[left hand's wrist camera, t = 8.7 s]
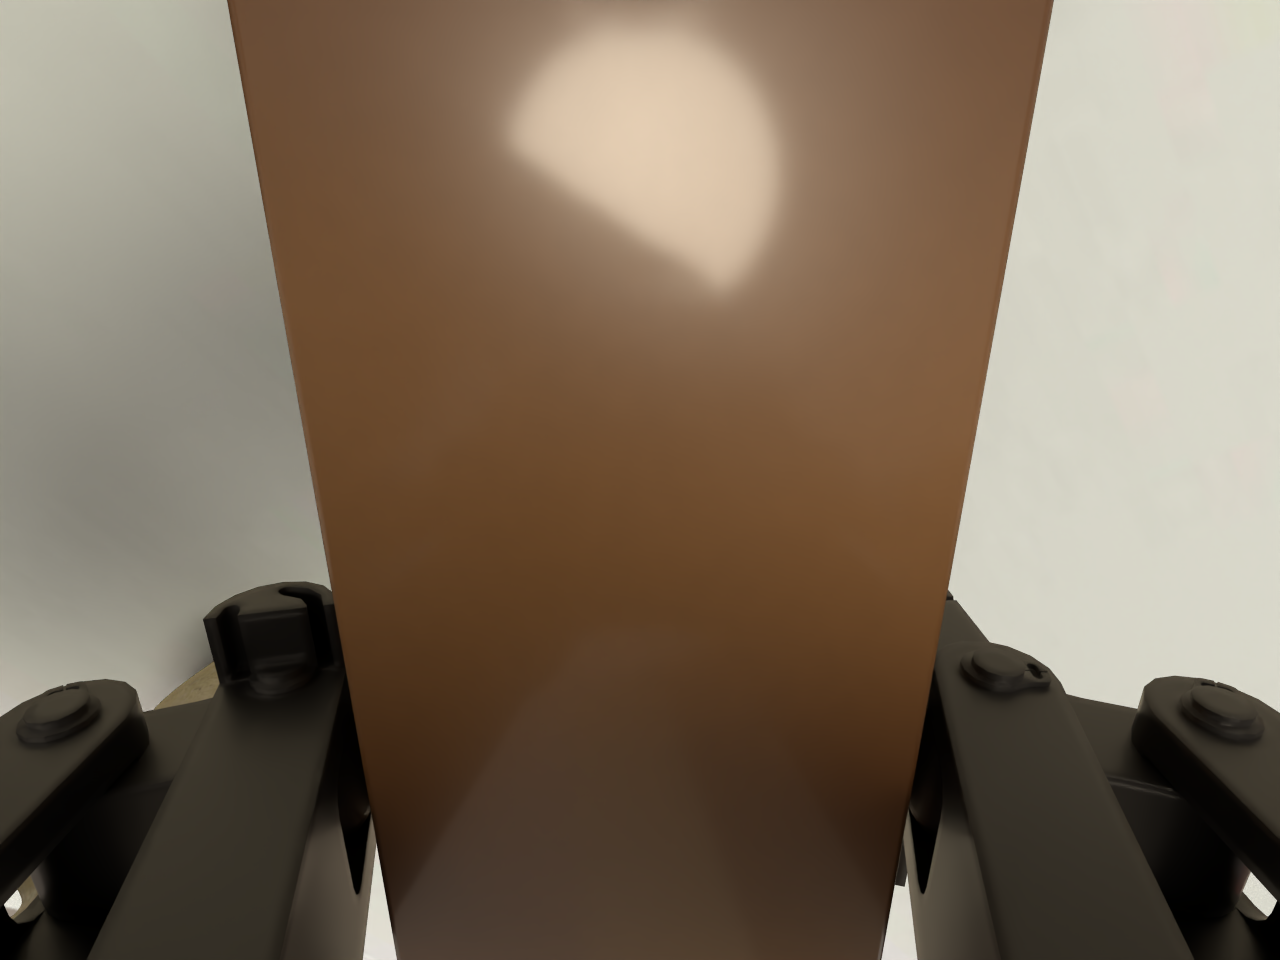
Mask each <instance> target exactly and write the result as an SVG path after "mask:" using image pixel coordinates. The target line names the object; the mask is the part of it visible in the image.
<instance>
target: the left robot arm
mask: <svg viewBox="0 0 1280 960" xmlns="http://www.w3.org/2000/svg"><path fill="white" fill-rule="evenodd" d="M203 621H204V625H205V629H206V633H207V637H208V641H209V644H210V648H211V652H212V656H213V660H214V664H215V668H216V672H217V676H218V679H219V686H218V688H217V690H216V692H215V694H214V696H213V698H209V699H205V700H201V701H197V702H192V703H187V704H182V705H177V706H172V707H166V708H161V709H156V710H151V711H146V712H143V711H142V708H141V705H140V701H139V698H138V695H137V692H136V690H135V689H134V688H133V687H131V686H130V685H129V684H127V683H126V682H122V681H115V680H108V679H102V680H93V681H84V682H83V681H81V682H75V683H70V684H67V685H66V686H64V687H63V685H62V686H59V687H56V688H53V689H50V690H48V691H46V692H44V693H43V694H41V695H39V696H36V697H34V698H32V699H30V700H27V701H25V702H23V703H21V704H20V705H18V706H16V707H15V708H13V709H12V710H10V711H9V712H7V713H6V714H4V715H3V716H1V717H0V960H363V952H364V944H365V935H366V927H367V918H368V910H369V901H370V893H371V884H372V875H373V867H374V858H375V850H376V837H375V832H374V826H373V820H372V815H371V809H370V803H369V798H368V792H367V786H366V781H365V775H364V770H363V764H362V758H361V753H360V747H359V741H358V736H357V730H356V724H355V719H354V713H353V707H352V702H351V696H350V691H349V685H348V679H347V674H346V668H345V662H344V657H343V651H342V645H341V640H340V634H339V628H338V623H337V617H336V612H335V606H334V600H333V595H332V592H331V591H330V590H329V589H327V588H326V587H325V586H323V585H319V584H314V583H310V582H281V583H276V584H271V585H266V586H260V587H257V588H254V589H251V590H248V591H245V592H243V593H240V594H237V595H234V596H233V597H231V598H229V599H228V600H226V601H224V602H222V603H221V604H219V605H217V606H215V607H214V608H213V609H212V610H211V612H210V613H209V614H208V615H207V616H206V617H205V618H204V619H203ZM1250 872H1252V873H1253V874H1254V876H1255V877H1256V878H1257V879H1258V880H1259V881H1260V882H1261V883H1262V884H1263V885H1264V887H1265V888H1266V889H1267V890H1268V891H1269V892H1270V893H1271V894H1272V895H1273V896H1274V898H1275V899H1276V900H1277V902H1276V905H1275V907H1274V909H1273V911H1272V913H1271V914H1270V915H1269V916H1266V915H1265V914H1264V913H1262V912H1261V911H1260V910H1259V909H1258V908H1257V907H1256V906H1255V905H1254V904H1253V903H1252V902H1251V901H1250V900H1249V898H1248V897H1247V896H1246V895H1245V894H1244V893H1243V892H1242V891H1243V889H1244V886H1245V884H1246V882H1247V879H1248V877H1249V875H1250ZM907 874H908V882H909V891H910V899H911V908H912V916H913V925H914V933H915V942H916V950H917V959H918V960H1280V713H1279V712H1277V711H1276V710H1274V709H1273V708H1271V707H1270V706H1268V705H1266V704H1265V703H1263V702H1262V701H1260V700H1259V699H1257V698H1254V697H1252V696H1250V695H1247V694H1245V693H1243V692H1241V691H1238V690H1237V689H1236V688H1234V687H1232V686H1229V685H1226V684H1223V683H1220V682H1217V683H1215V682H1214V681H1212V680H1207V679H1203V678H1191V677H1182V676H1170V677H1162V678H1155V679H1154V680H1153V681H1151V682H1150V683H1149V684H1147V685H1146V686H1145V687H1144V690H1143V693H1142V696H1141V699H1140V702H1139V706H1138V709H1135V708H1130V707H1125V706H1120V705H1115V704H1109V703H1104V702H1099V701H1094V700H1089V699H1084V698H1080V697H1076V696H1072V695H1068V694H1066V693H1065V691H1064V688H1063V686H1062V684H1061V682H1060V681H1059V680H1058V679H1057V677H1056V676H1055V675H1054V674H1053V672H1052V671H1051V670H1050V669H1049V668H1048V667H1046V666H1045V665H1043V664H1042V663H1041V662H1039V661H1038V660H1036V659H1035V658H1033V657H1032V656H1030V655H1027V654H1025V653H1023V652H1020V651H1018V650H1015V649H1013V648H1011V647H1008V646H1004V645H999V644H995V643H990V642H989V641H988V640H987V638H986V637H985V636H984V635H983V633H982V632H981V631H980V630H979V628H978V627H977V626H976V625H975V623H974V622H973V621H972V620H971V618H970V617H969V616H968V614H967V613H966V612H965V611H964V609H963V608H962V607H961V606H960V604H959V603H958V602H957V601H956V600H953V596H952V594H951V593H950V592H949V590H948V591H947V597H946V602H945V608H944V613H943V619H942V625H941V630H940V636H939V641H938V647H937V652H936V658H935V664H934V669H933V675H932V680H931V686H930V691H929V697H928V702H927V708H926V714H925V719H924V725H923V730H922V736H921V741H920V747H919V752H918V758H917V764H916V769H915V775H914V780H913V786H912V791H911V797H910V803H909V808H908V814H907V819H906V825H905V830H904V836H903V841H902V847H901V853H900V858H899V864H898V869H897V875H896V881H895V885H899V886H904V887H905V882H906V877H907ZM29 876H31V879H32V881H33V883H34V886H35V888H36V891H37V893H38V895H37V896H36V898H35V899H34V900H33V901H32V902H31V903H30V904H29V906H28V907H27V908H26V909H25V910H24V911H22V912H21V913H20V914H19V915H18V916H16V917H15V918H14V919H12V918H11V917H9V915H8V913H7V911H6V908H5V906H4V904H5V903H6V901H7V900H8V899H9V898H10V897H11V896H12V895H13V894H14V893H15V891H16V890H17V889H18V888H19V887H20V886H21V885H22V884H23V883H24V881H25V880H26V879H27V878H28V877H29Z"/></svg>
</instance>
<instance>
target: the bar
mask: <svg viewBox="0 0 1280 960" xmlns="http://www.w3.org/2000/svg"><path fill="white" fill-rule="evenodd" d="M227 2H228V8H229V14H230V19H231V25H232V30H233V36H234V42H235V47H236V53H237V59H238V64H239V70H240V76H241V81H242V87H243V93H244V98H245V104H246V109H247V115H248V121H249V126H250V132H251V138H252V143H253V149H254V155H255V160H256V166H257V171H258V177H259V183H260V188H261V194H262V200H263V205H264V211H265V217H266V222H267V228H268V234H269V239H270V245H271V250H272V256H273V262H274V267H275V273H276V279H277V284H278V290H279V296H280V301H281V307H282V313H283V318H284V324H285V329H286V335H287V341H288V346H289V352H290V358H291V363H292V369H293V375H294V380H295V386H296V392H297V397H298V403H299V408H300V414H301V420H302V425H303V431H304V437H305V442H306V448H307V454H308V459H309V465H310V471H311V476H312V482H313V487H314V493H315V499H316V504H317V510H318V516H319V521H320V527H321V533H322V538H323V544H324V549H325V555H326V561H327V566H328V572H329V578H330V583H331V589H332V595H333V600H334V606H335V612H336V617H337V623H338V628H339V634H340V640H341V645H342V651H343V657H344V662H345V668H346V674H347V679H348V685H349V691H350V696H351V702H352V707H353V713H354V719H355V724H356V730H357V736H358V741H359V747H360V753H361V758H362V764H363V770H364V775H365V781H366V786H367V792H368V798H369V803H370V809H371V815H372V820H373V826H374V832H375V837H376V843H377V849H378V854H379V860H380V865H381V871H382V877H383V882H384V888H385V894H386V899H387V905H388V911H389V916H390V922H391V927H392V933H393V939H394V944H395V950H396V956H397V960H881V958H882V953H883V947H884V942H885V936H886V930H887V925H888V919H889V914H890V908H891V903H892V897H893V891H894V886H895V880H896V875H897V869H898V864H899V858H900V853H901V847H902V841H903V836H904V830H905V825H906V819H907V814H908V808H909V803H910V797H911V791H912V786H913V780H914V775H915V769H916V764H917V758H918V752H919V747H920V741H921V736H922V730H923V725H924V719H925V714H926V708H927V702H928V697H929V691H930V686H931V680H932V675H933V669H934V664H935V658H936V652H937V647H938V641H939V636H940V630H941V625H942V619H943V613H944V608H945V602H946V597H947V591H948V586H949V580H950V575H951V569H952V563H953V558H954V552H955V547H956V541H957V536H958V530H959V525H960V519H961V513H962V508H963V502H964V497H965V491H966V486H967V480H968V475H969V469H970V463H971V458H972V452H973V447H974V441H975V436H976V430H977V424H978V419H979V413H980V408H981V402H982V397H983V391H984V386H985V380H986V374H987V369H988V363H989V358H990V352H991V347H992V341H993V336H994V330H995V324H996V319H997V313H998V308H999V302H1000V297H1001V291H1002V285H1003V280H1004V274H1005V269H1006V263H1007V258H1008V252H1009V247H1010V241H1011V235H1012V230H1013V224H1014V219H1015V213H1016V208H1017V202H1018V197H1019V191H1020V185H1021V180H1022V174H1023V169H1024V163H1025V158H1026V152H1027V146H1028V141H1029V135H1030V130H1031V124H1032V119H1033V113H1034V108H1035V102H1036V96H1037V91H1038V85H1039V80H1040V74H1041V69H1042V63H1043V58H1044V52H1045V46H1046V41H1047V35H1048V30H1049V24H1050V19H1051V13H1052V8H1053V2H1054V0H227Z"/></svg>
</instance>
